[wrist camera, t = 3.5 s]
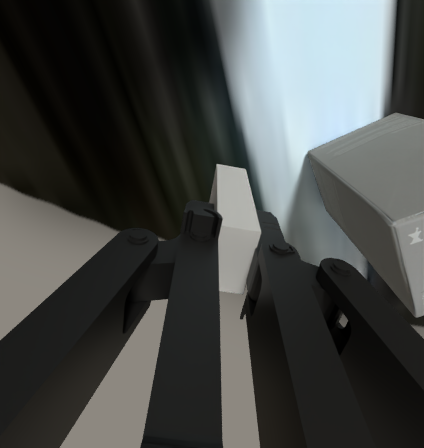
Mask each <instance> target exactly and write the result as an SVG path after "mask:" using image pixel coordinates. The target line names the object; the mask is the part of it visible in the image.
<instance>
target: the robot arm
mask: <svg viewBox="0 0 424 448" xmlns="http://www.w3.org/2000/svg"><path fill="white" fill-rule="evenodd" d="M246 283H247V290H248V292H247V295H246V299H245V302H244V305H243V308H242V312H241V316H240V319H243V317H244V315H245V314H246V322H247V330H248V340H249V349H250V357H251V367H252V376H253V385H254V394H255V404H256V412H257V422H258V431H259V440H260V448H424V339H423V338H422V337H421V336H420V335H419V334H418V333H417V332H416V331H415V330H414V328H413V327H412V326H411V325H410V324H409V323H408V322H407V321H406V320H405V319H404V318H403V317H402V316H401V315H400V314H399V313H398V312H397V311H396V310H395V309H394V308H393V307H392V306H391V305H390V304H389V303H388V302H387V301H386V299H385V298H384V297H383V296H382V295H381V294H380V293H379V292H378V291H377V290H376V289H375V288H374V287H373V286H372V285H371V284H370V283H369V282H368V281H367V280H366V279H365V278H364V277H363V276H362V275H361V274H360V273H359V272H358V270H356V269H355V268H354V267H353V266H352V265H350V264H348V263H346V262H345V261H343V260H340V259H333V258H327V259H324V260H322V261H321V263H320V266H319V267H318V266H315V265H312V264H309V263H306V262H304V261H301V259H300V256H299V254H298V252H297V250H296V249H295V248H294V247H293V246H291V245H290V244H288V243H286V242H285V240H284V237H283V234H282V231H281V229H280V226H279V223H278V220H277V218H276V217H275V216H274V215H273V214H272V213H270V212H265V211H259V210H256V209H255V205H254V201H253V197H252V193H251V189H250V185H249V181H248V177H247V173H246V169H242V168H236V167H230V166H225V165H219V164H217V166H216V171H215V176H214V182H213V187H212V192H211V197H210V202H209V203H207V202H201V201H195V200H191V201H190V202H189V203H187V204H186V208H185V211H184V214H183V220H182V227H181V233H180V235H179V236H178V237H177V238H175V239H172V240H168V241H158V237H157V235H155V234H154V233H153V232H151V231H149V230H146V229H141V228H130V229H126V230H123V231H121V232H120V233H118V234H117V235H116V236H115V237H114V238H113V239H112V240H111V241H110V242H108V243H107V244H106V245H105V246H104V247H103V248H102V249H101V250H100V251H98V252H97V253H96V254H95V255H94V256H93V257H92V258H91V259H90V260H89V261H87V262H86V263H85V264H84V265H83V266H82V267H81V268H80V269H79V270H78V271H76V272H75V273H74V274H73V275H72V276H71V277H70V278H69V279H68V280H66V282H64V283H63V284H62V285H61V286H60V287H59V288H58V289H57V290H55V292H53V293H52V294H51V295H50V296H49V297H48V298H47V299H46V300H44V301H43V302H42V303H41V304H40V305H39V306H38V307H37V308H36V309H35V310H34V311H32V312H31V313H30V314H29V315H28V316H27V317H26V318H25V319H23V320H22V321H21V322H20V323H19V324H18V325H17V326H16V327H15V328H14V329H12V331H10V332H9V333H8V334H7V335H6V336H5V337H4V338H3V339H1V340H0V448H59V447H60V446H61V444H62V443H63V441H64V440H65V438H66V437H67V435H68V433H69V432H70V430H71V429H72V427H73V426H74V424H75V422H76V421H77V419H78V418H79V416H80V414H81V413H82V411H83V410H84V408H85V407H86V405H87V404H88V402H89V400H90V399H91V397H92V396H93V394H94V393H95V391H96V389H97V388H98V386H99V385H100V383H101V382H102V380H103V378H104V377H105V375H106V374H107V372H108V371H109V369H110V368H111V366H112V364H113V363H114V361H115V359H116V358H117V357H118V355H119V353H120V352H121V350H122V349H123V347H124V346H125V344H126V342H127V341H128V339H129V338H130V336H131V334H132V333H133V331H134V329H135V328H136V326H137V325H138V323H139V322H140V320H141V319H142V317H143V316H144V314H145V313H146V311H147V309H148V308H149V306H150V303H151V300H161V299H168V304H167V309H166V315H165V321H164V326H163V331H162V336H161V342H160V347H159V353H158V358H157V364H156V370H155V375H154V380H153V386H152V391H151V396H150V402H149V408H148V413H147V418H146V424H145V429H144V434H143V440H142V443H141V447H140V448H223V443H222V408H221V407H222V406H221V358H220V357H221V356H220V305H219V291H224V292H231V293H238V294H243V293H244V290H245V287H246ZM342 314H344V315H345V316H346V317H347V319H348V322H347V324H346V326H345V327H343V326H342V325H341V324H340V323H339V320H340V318H341V316H342Z"/></svg>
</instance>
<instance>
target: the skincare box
mask: <svg viewBox="0 0 424 448" xmlns="http://www.w3.org/2000/svg"><path fill="white" fill-rule="evenodd" d="M308 157H309V160H310V163H311V166H312V169H313V172H314V175H315V178H316V181H317V184H318V187H319V190H320V193H321V196H322V199H323V202H324V205H325V208H326V211H327V212H328V213H329V214H330V216H331V217H332V218H333V219H334V220H335V222H336V223H337V224H338V225H339V226H340V228H341V229H342V230H343V231H344V233H345V234H346V235H347V236H348V237H349V239H350V240H351V241H352V242H353V243H354V245H355V246H356V247H357V248H358V249H359V251H360V252H361V253H362V254H363V255H364V257H365V258H366V259H367V260H368V261H369V263H370V264H371V265H372V266H373V267H374V269H375V270H376V271H377V272H378V273H379V275H380V276H381V277H382V278H383V279H384V281H385V282H386V283H387V284H388V285H389V287H390V288H391V289H392V290H393V291H394V293H395V294H396V295H397V296H398V297H399V299H400V300H401V301H402V302H403V303H404V304H405V306H406V307H407V308H408V309H409V310H410V312H411V313H412V314H413V315H414V316H415V317H420V316H423V315H424V119H420V118H416V117H412V116H407V115H403V114H399V113H394V114H392V115H389V116H387V117H385V118H382V119H380V120H378V121H376V122H373V123H371V124H369V125H367V126H364V127H362V128H360V129H357V130H355V131H353V132H351V133H348V134H346V135H344V136H341V137H339V138H337V139H335V140H332V141H330V142H328V143H326V144H323V145H321V146H319V147H317V148H314V149H312V150H310V151H308Z"/></svg>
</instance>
